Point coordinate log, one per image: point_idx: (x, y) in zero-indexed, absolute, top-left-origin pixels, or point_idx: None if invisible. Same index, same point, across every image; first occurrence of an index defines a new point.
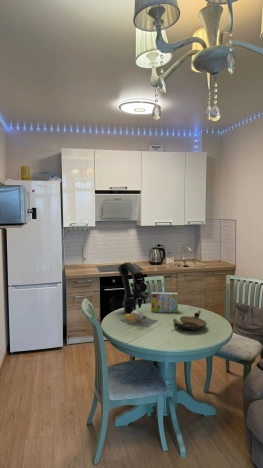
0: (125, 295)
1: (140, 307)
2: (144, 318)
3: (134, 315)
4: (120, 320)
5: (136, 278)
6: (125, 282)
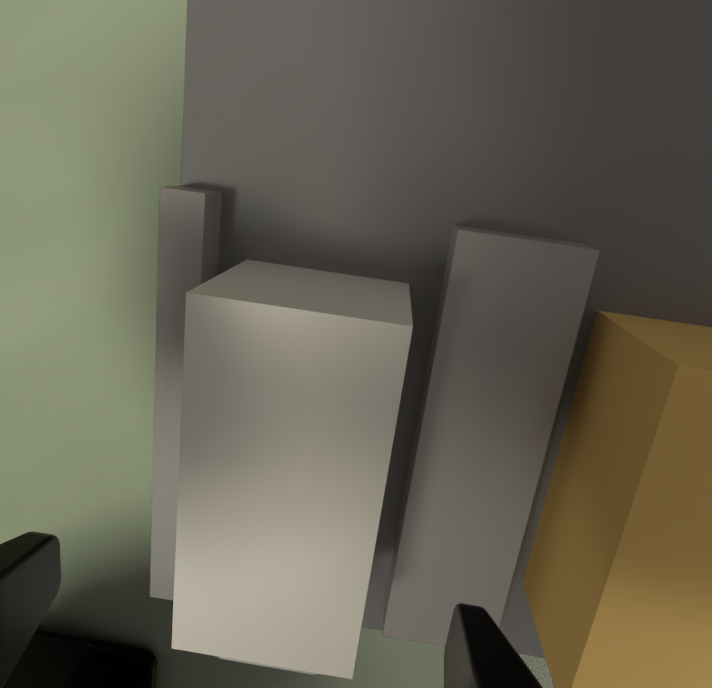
0: None
1: (7, 547)
2: (264, 202)
3: (675, 452)
4: None
5: None
6: None
